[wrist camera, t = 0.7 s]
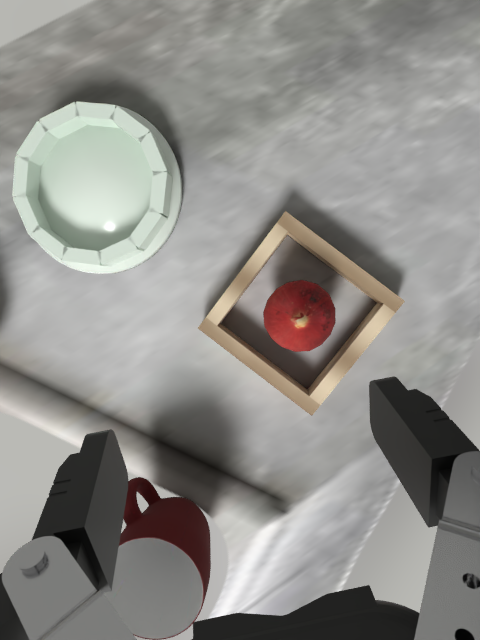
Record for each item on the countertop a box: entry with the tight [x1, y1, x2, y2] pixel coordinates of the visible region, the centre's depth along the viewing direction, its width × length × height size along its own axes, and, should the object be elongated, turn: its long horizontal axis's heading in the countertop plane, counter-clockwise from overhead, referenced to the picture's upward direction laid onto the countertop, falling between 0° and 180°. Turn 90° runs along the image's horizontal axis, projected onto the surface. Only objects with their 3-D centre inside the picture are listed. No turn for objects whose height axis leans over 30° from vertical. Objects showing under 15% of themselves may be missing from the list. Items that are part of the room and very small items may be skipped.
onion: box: [263, 280, 335, 352], centre depth 35 cm, size 6×6×8 cm
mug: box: [104, 477, 210, 640], centre depth 37 cm, size 10×8×10 cm
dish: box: [12, 101, 183, 274], centre depth 38 cm, size 15×15×3 cm
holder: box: [198, 211, 405, 416], centre depth 38 cm, size 12×12×2 cm
